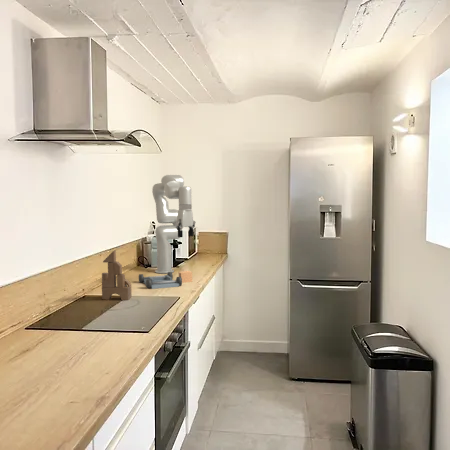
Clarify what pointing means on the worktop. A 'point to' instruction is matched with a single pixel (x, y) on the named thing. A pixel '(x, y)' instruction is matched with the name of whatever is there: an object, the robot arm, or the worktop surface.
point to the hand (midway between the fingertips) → (185, 236)
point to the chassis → (160, 281)
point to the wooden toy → (110, 280)
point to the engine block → (186, 276)
